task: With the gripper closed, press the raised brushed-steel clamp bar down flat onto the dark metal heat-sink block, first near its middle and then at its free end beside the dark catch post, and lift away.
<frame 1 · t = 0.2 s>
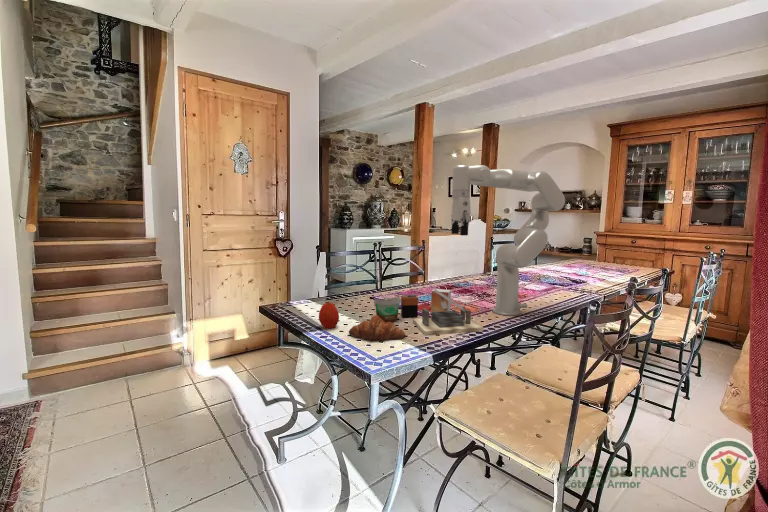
hand: (459, 234, 161), 36 cm above the table, tool pointing down, fingers open, 9 cm apart
red egg: (329, 328, 149), on the table
small box: (440, 312, 171), on the table
clamp bar: (451, 301, 149), point 10 cm above the table, hinge at 35.0°
heatsink board: (446, 326, 150), on the table
food container: (389, 321, 157), on the table
battery: (409, 316, 164), on the table
pastry: (377, 337, 139), on the table
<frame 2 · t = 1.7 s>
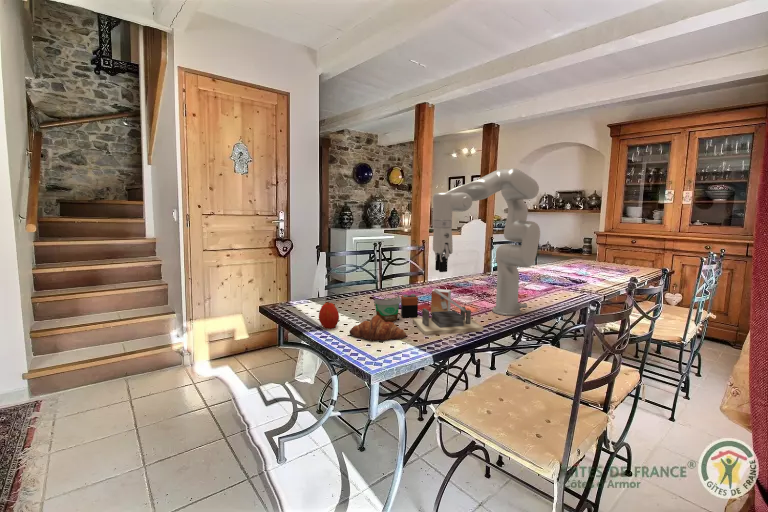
hand: (441, 270, 146), 23 cm above the table, tool pointing down, fingers open, 3 cm apart
nothing on the table moved.
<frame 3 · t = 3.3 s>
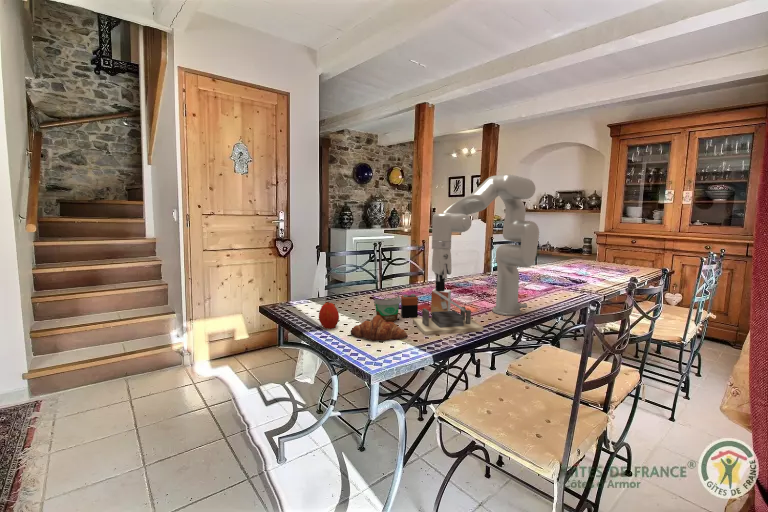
hand: (439, 290, 147), 15 cm above the table, tool pointing down, fingers closed
clamp bar: (451, 301, 149), point 10 cm above the table, hinge at 33.6°, touching gripper
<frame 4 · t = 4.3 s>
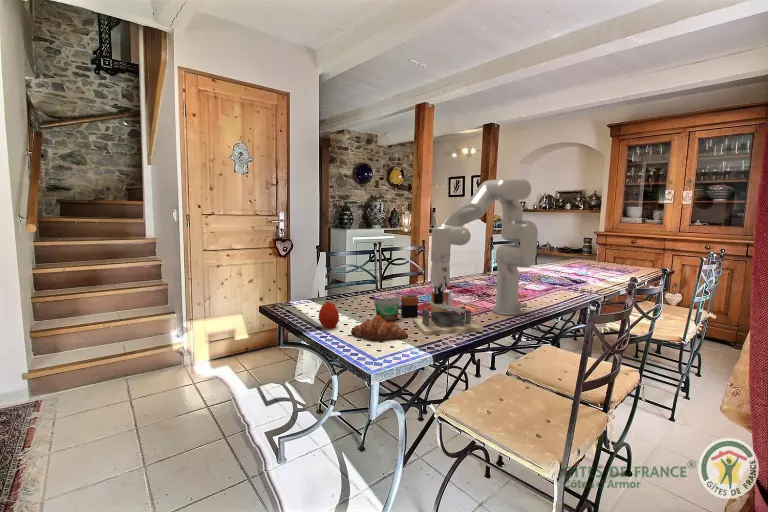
hand: (438, 303, 148), 10 cm above the table, tool pointing down, fingers closed
clamp bar: (448, 307, 149), point 8 cm above the table, hinge at 14.7°, touching gripper
everything else where it was.
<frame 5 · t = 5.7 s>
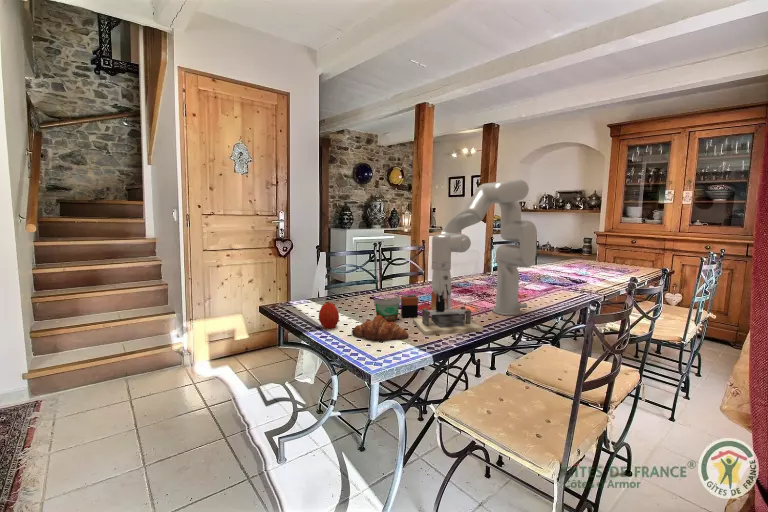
hand: (440, 310, 149), 7 cm above the table, tool pointing down, fingers closed
clamp bar: (448, 311, 149), point 6 cm above the table, hinge at 1.4°
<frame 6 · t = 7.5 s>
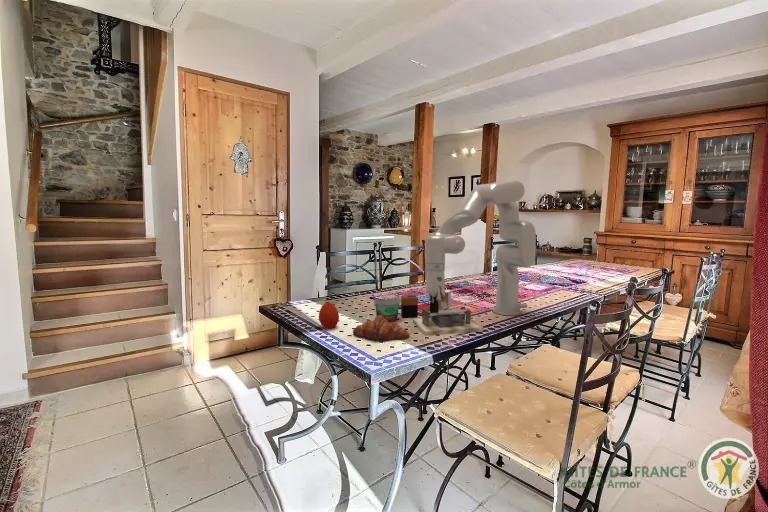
hand: (434, 312, 148), 6 cm above the table, tool pointing down, fingers closed
clamp bar: (447, 312, 149), point 6 cm above the table, hinge at -0.1°, touching gripper
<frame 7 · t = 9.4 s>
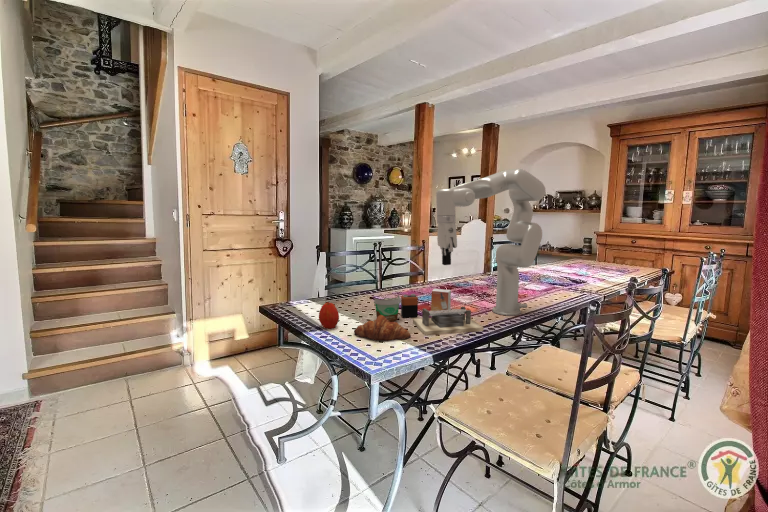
hand: (446, 264, 152), 25 cm above the table, tool pointing down, fingers closed
clamp bar: (447, 312, 149), point 6 cm above the table, hinge at -0.2°
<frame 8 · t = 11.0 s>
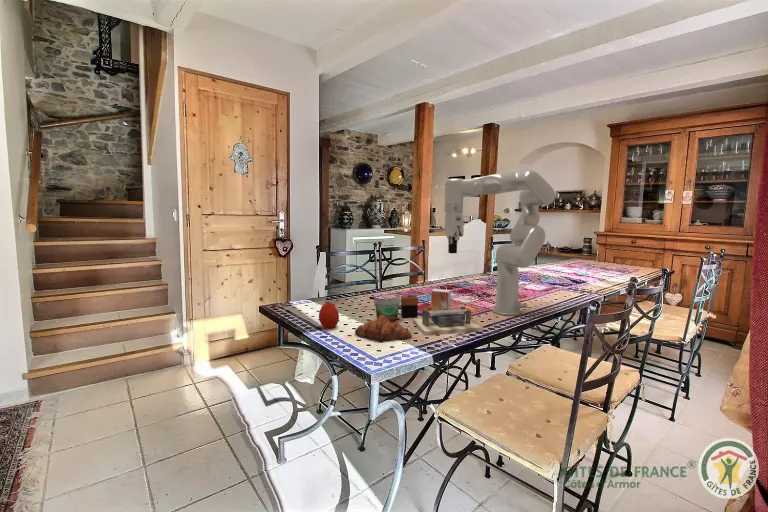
hand: (452, 253, 155), 29 cm above the table, tool pointing down, fingers closed
at the end: clamp bar at +0° (first picture: +35°) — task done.
